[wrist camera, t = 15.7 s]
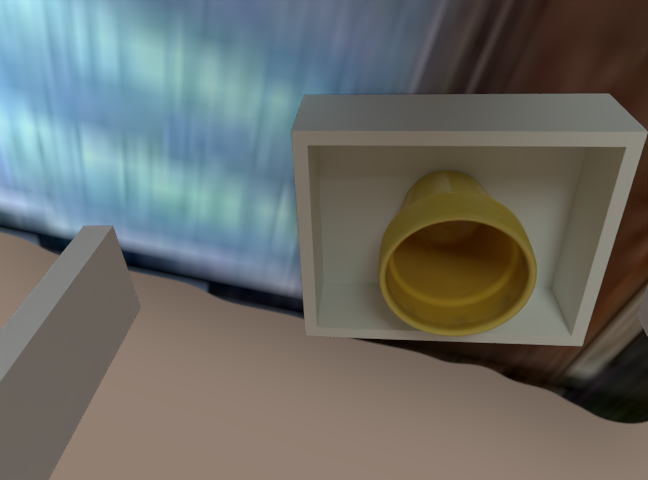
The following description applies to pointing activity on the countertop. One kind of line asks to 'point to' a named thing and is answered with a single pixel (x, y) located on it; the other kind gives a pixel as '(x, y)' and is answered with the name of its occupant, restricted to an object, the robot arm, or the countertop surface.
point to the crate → (481, 164)
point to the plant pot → (455, 258)
